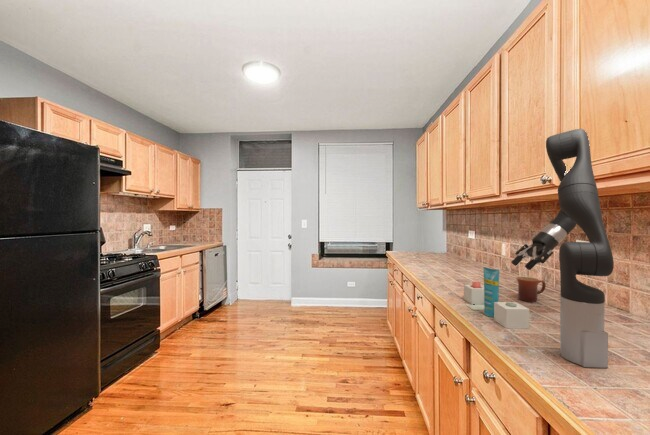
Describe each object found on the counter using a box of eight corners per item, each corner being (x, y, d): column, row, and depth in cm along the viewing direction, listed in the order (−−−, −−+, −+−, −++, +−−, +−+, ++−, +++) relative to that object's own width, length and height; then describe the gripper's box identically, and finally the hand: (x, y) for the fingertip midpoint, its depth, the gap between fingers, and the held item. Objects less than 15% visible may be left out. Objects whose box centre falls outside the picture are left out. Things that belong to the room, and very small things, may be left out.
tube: (478, 313, 116) (478, 267, 116) (487, 311, 118) (486, 266, 118) (496, 319, 109) (496, 270, 109) (504, 317, 111) (504, 269, 111)
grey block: (489, 304, 127) (489, 289, 127) (471, 304, 127) (471, 289, 127) (480, 299, 135) (480, 284, 135) (463, 299, 135) (463, 284, 135)
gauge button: (481, 292, 129) (481, 283, 129) (474, 292, 129) (474, 283, 129) (478, 290, 133) (478, 281, 132) (470, 290, 133) (470, 281, 133)
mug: (523, 303, 128) (523, 281, 128) (512, 297, 137) (512, 276, 137) (551, 303, 127) (551, 281, 127) (538, 298, 136) (538, 277, 136)
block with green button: (529, 328, 100) (529, 307, 100) (506, 328, 101) (506, 307, 101) (515, 320, 108) (515, 300, 108) (494, 319, 109) (494, 300, 109)
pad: (494, 310, 119) (494, 309, 119) (472, 310, 120) (472, 309, 120) (486, 305, 125) (486, 304, 125) (466, 305, 126) (466, 304, 126)
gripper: (530, 229, 119) (502, 256, 120) (556, 232, 105) (524, 262, 106) (543, 242, 119) (515, 269, 120) (571, 246, 105) (539, 276, 106)
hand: (519, 266), depth 113 cm, fingers open, 8 cm apart
